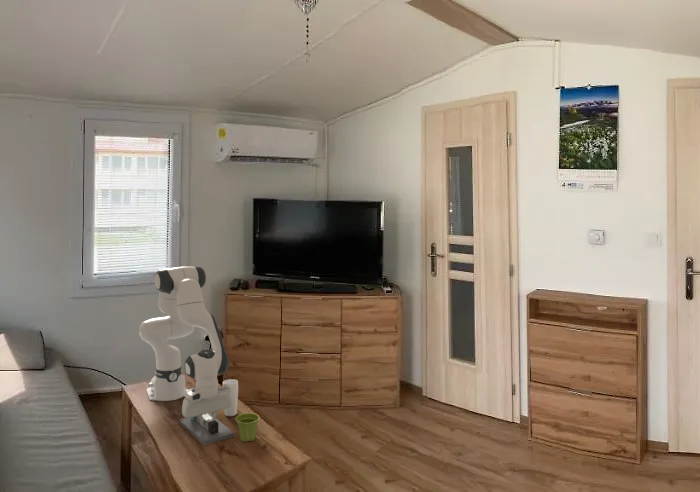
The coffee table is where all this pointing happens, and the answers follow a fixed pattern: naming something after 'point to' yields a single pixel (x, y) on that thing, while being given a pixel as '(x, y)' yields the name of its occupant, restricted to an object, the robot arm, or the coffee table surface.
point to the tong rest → (203, 434)
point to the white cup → (232, 396)
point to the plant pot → (247, 426)
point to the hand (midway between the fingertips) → (207, 422)
